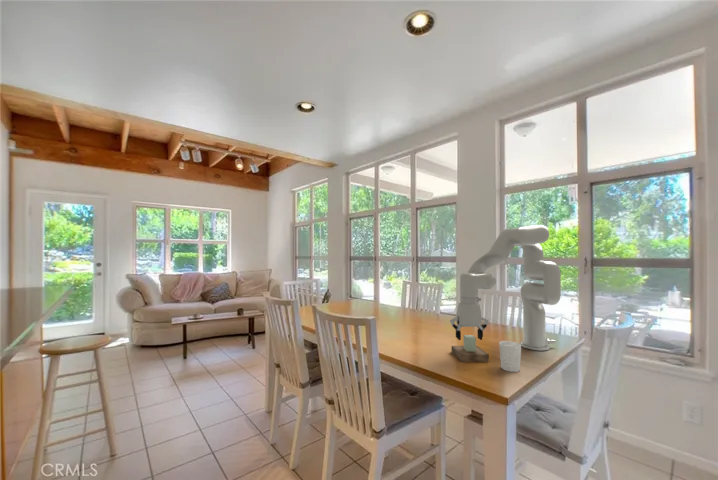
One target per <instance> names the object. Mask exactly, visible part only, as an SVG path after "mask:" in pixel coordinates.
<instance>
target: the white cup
mask: <svg viewBox="0 0 718 480" xmlns="http://www.w3.org/2000/svg"><path fill="white" fill-rule="evenodd" d="M498 345H499V359H500V367H501V369H502V370H503V371H506V372H510V373H517V372H519V371H520V369H521V359H522V346H521V345H520V343H518V342H516V341H511V340H500V341H499V344H498Z"/></svg>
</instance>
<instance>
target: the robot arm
mask: <svg viewBox="0 0 718 480" xmlns="http://www.w3.org/2000/svg"><path fill="white" fill-rule="evenodd" d="M549 237H550V231H549V229H548V227H547V226H545V225H542V224H540V225H539V224H537V225H525V226H518V227H512V228H505V229H503V230H502V231H500V232H499V234H498V237H497V238H496V239H495V241H494V242H493V244H492V246H491V247H490V249H489V251H487V253H485V254H483V255H482V256H480V257H479V258H478V259H476V261H474V262H473V264H472V265H471V266H470V268H469V269H468V271H467V272H464V273H461V274H460V275H459V284H460V285H459V291H460V292H459V293H460V294H459V298H460V299H459V302H458V303H457V309H456V316H455V317H453V318H451V319H450V320H449V322H450V324H451V326H452V327H453V328H454V329H455V337H456V339H457V340H458V341H461V340H462V338H461V336H462V332H461V329H462V328H471V327H472V328H475V327H476V328H478V329H477V339H479V340H480V341H481V340H482V341H483V337H484V331H485V329H486V328H487V326H488V324H489V322H490V321H489V319H486V318H485V317H482V311H481V305H480V304H479V302H481V300H482V299H481V297H479V290H490V289H493V288H494V287H495V286H496V284H497V279H496V277H495V276H494V275H493V274H491V273H489V272H486V271H487V270H489V269H491V268H493V267H496V266H499V265H501V264H503V263H505V262H507V260H508V258H509V257H510V254H511V253H512V252H513V249H514V248H515V247H521V249H522V251H523V272H524V276H525V278H527V279H528V280H531V281H532V280H533V281H541V282H543V283H541V282H540V283H539V282H533V281H532V282H531V281H530V282H526V283H524V284H522V285H521V288H520V296H521V301H522V311H523V312H522V314H523V316H522V318H523V319H522V321H523V323H522V324H523V325H522V326H523V330H522V331H523V340H522V341H520V343H519V344H520V345H521V348H525V349H528V350H532V351H549V350H550V349H551V348H550V345H551V344H552V345H554V344H556V343H557V341H556V339H549V338H546V309H545V307H544V306H543V304H544V305H548V306H554V305H557V304H558V303H559V301H560V300H561V293H562V291H561V290H562V287H561V285H562V284H561V283H562V281H561V280H562V279H561V275H562V274H561V269H560V266H559V265H558V264H557V263H555V262H553V261H548V260H546V261H545V260H544V258H545V257H544V250H543V247H542V246H541V244H544V243H545V242H547V241H548V239H549Z"/></svg>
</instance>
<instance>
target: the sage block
mask: <svg viewBox="0 0 718 480" xmlns="http://www.w3.org/2000/svg"><path fill="white" fill-rule="evenodd" d="M476 342H477V337H476V336H474V335H473V334H472V335H471V334H468V335H467V334H464V335H463V346H464V349H465V350H466V351H476V346H477V343H476Z"/></svg>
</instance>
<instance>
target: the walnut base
mask: <svg viewBox="0 0 718 480" xmlns="http://www.w3.org/2000/svg"><path fill="white" fill-rule="evenodd" d="M451 353H452V354H453V356H455V358H457V359H458V360H459V361H460V362H461V363H469V362H470V363H471V362H472V363H473V362H474V363H475V362H476V363H478V362H479V363H481V362H482V363H483V362H484V363H485V362H490V355H489V353H487V352H486V351H485V350H483V349H482V348H481V347H480V346H478V345H476V351H466V350H465V349H464V345H451Z"/></svg>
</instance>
